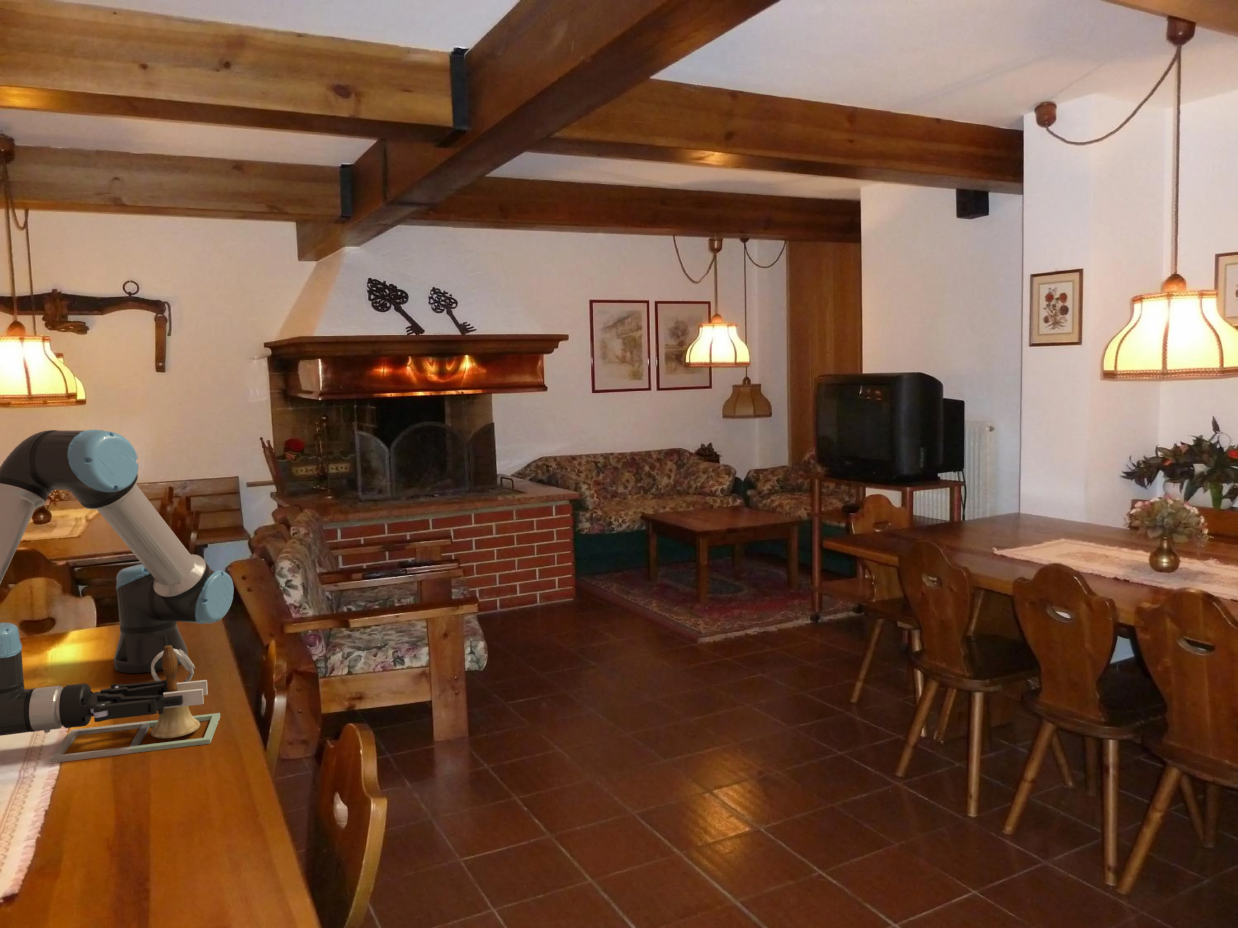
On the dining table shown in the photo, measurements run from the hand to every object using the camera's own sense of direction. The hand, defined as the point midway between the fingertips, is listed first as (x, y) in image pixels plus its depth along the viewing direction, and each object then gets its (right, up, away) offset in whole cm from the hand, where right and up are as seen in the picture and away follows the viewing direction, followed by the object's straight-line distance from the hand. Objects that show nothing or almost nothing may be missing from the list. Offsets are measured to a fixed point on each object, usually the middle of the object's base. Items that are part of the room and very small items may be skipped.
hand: (204, 691), depth 172 cm
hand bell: (-5, -7, -1) cm, 9 cm away
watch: (-13, -6, +16) cm, 21 cm away
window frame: (-11, -8, -2) cm, 14 cm away
